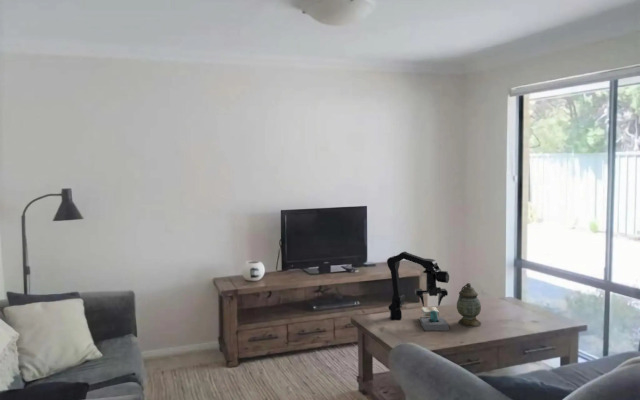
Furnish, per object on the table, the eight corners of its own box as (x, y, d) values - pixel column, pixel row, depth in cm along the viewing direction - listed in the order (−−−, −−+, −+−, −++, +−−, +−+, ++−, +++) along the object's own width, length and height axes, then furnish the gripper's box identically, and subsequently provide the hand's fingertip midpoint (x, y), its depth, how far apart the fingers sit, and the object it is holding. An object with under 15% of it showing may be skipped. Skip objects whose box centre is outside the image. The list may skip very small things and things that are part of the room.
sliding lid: (424, 316, 304) (424, 311, 304) (421, 312, 313) (421, 307, 313) (438, 316, 304) (438, 311, 304) (435, 311, 313) (435, 307, 313)
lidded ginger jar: (482, 327, 292) (482, 286, 290) (457, 326, 295) (457, 285, 293) (479, 320, 306) (479, 280, 304) (456, 319, 309) (455, 280, 307)
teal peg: (431, 325, 295) (431, 312, 294) (429, 323, 299) (429, 310, 298) (437, 325, 295) (437, 312, 294) (436, 323, 299) (436, 310, 298)
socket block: (424, 330, 290) (424, 324, 290) (420, 322, 304) (420, 317, 304) (448, 330, 290) (448, 324, 290) (443, 322, 304) (443, 316, 304)
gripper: (417, 284, 290) (417, 310, 291) (449, 284, 289) (449, 310, 291) (414, 279, 301) (414, 304, 303) (445, 279, 300) (445, 304, 302)
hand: (431, 306), depth 299 cm, fingers open, 9 cm apart
